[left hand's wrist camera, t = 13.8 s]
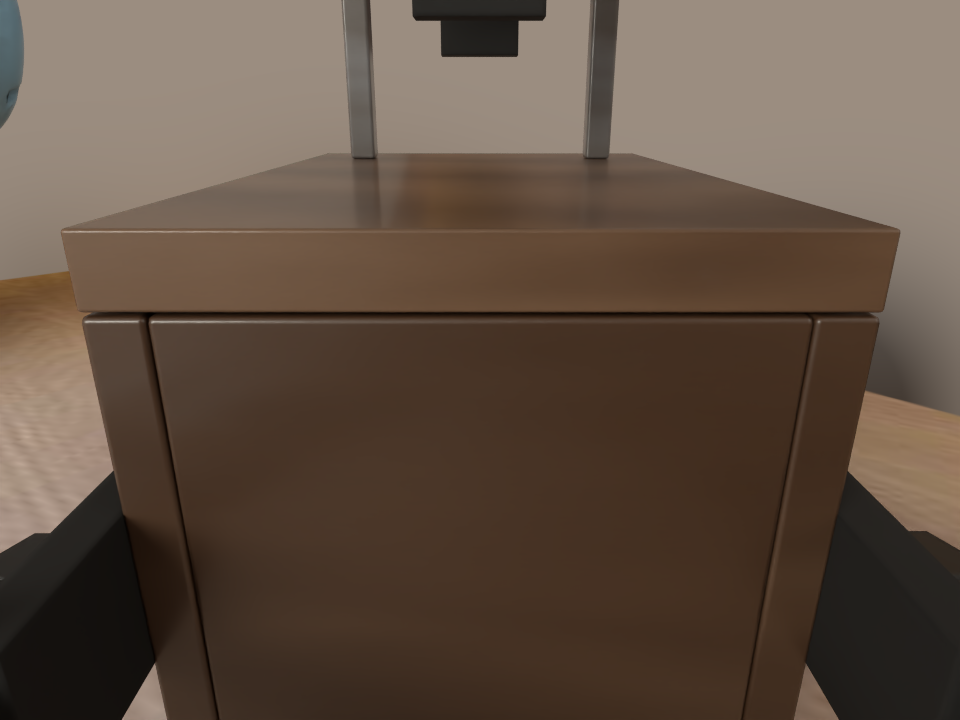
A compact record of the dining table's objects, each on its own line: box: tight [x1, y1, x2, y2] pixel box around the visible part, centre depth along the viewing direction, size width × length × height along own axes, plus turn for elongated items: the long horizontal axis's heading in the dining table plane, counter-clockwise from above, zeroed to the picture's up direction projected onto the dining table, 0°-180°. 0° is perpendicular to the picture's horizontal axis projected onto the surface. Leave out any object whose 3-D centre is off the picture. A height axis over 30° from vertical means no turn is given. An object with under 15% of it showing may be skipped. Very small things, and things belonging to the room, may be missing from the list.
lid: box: [61, 0, 900, 312], centre depth 14 cm, size 15×10×9 cm
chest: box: [82, 312, 879, 720], centre depth 17 cm, size 15×10×10 cm
